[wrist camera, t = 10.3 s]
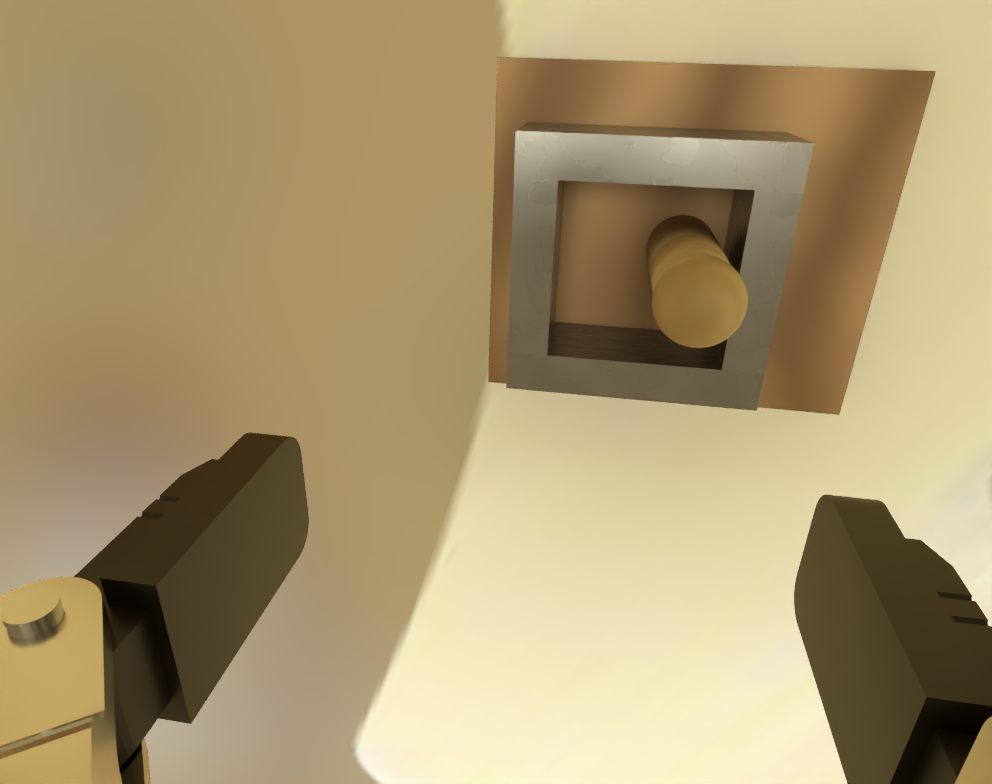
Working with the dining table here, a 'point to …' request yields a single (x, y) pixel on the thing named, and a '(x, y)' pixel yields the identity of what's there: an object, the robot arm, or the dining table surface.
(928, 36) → the dining table surface
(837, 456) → the dining table surface
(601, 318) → the keeper board
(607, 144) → the steel link
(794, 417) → the dining table surface
